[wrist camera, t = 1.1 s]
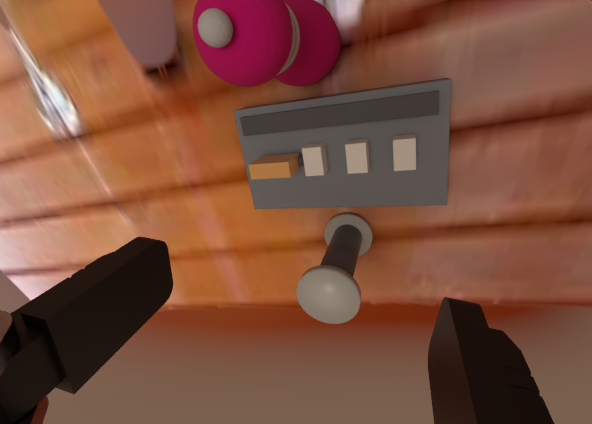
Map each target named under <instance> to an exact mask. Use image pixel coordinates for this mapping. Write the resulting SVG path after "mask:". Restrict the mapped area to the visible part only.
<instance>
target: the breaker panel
mask: <svg viewBox="0 0 592 424" xmlns="http://www.w3.org/2000/svg"><path fill="white" fill-rule="evenodd" d="M450 98H451V79H449V78H444V79H437V80H430V81H423V82H416V83H409V84H403V85H396V86H389V87H382V88H375V89H368V90H362V91H355V92H348V93H341V94H334V95H327V96H321V97H314V98H307V99H300V100H293V101H287V102H280V103H273V104H266V105H259V106H252V107H246V108H242V109H238V110H234V116H235V120H236V125H237V129H238V134H239V138H240V143H241V148H242V152H243V157H244V161H245V166H246V170H247V175H248V179H249V184H250V189H251V193H252V198H253V202H254V207H255V209H277V208H321V207H366V206H410V205H447V191H448V160H449V129H450ZM293 153H299V155H303V160H304V166H301V168H300V169H299V170H298V171H297V172H296V173H295V174H294V175H293V176H292V177H289V178H271V179H254V180H251V175H250V170H249V166H248V165H249V164H250V163H252V162H254V161H255V160H257V159H258V158H260V157H262V156H269V155H281V154H293Z"/></svg>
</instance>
